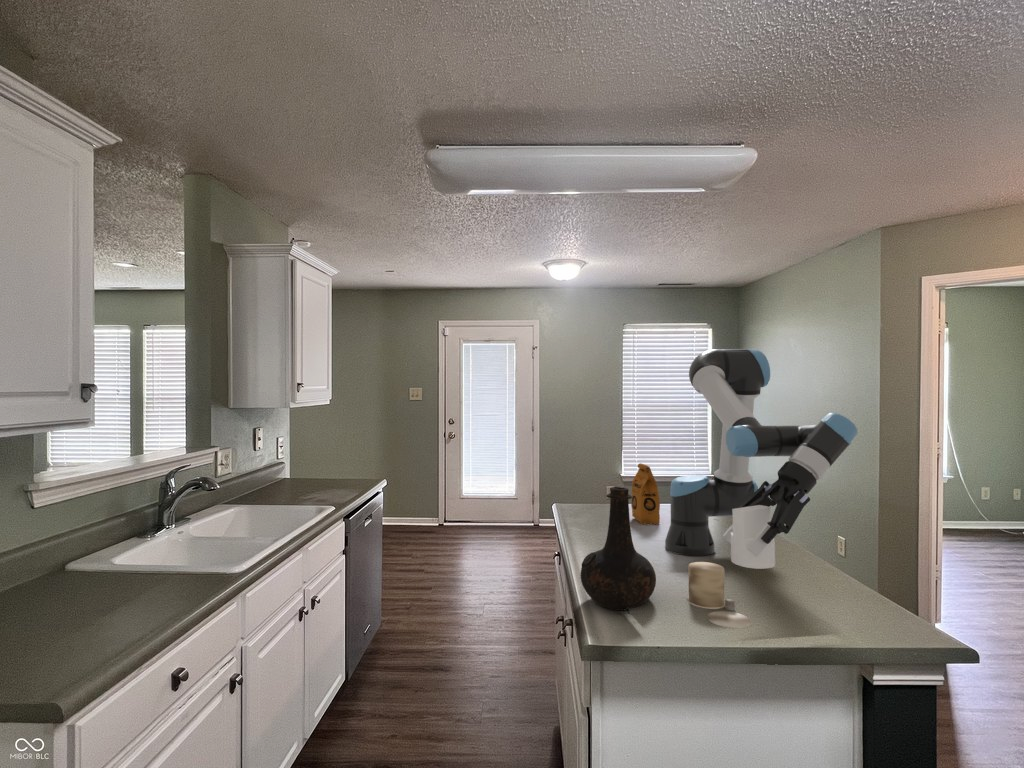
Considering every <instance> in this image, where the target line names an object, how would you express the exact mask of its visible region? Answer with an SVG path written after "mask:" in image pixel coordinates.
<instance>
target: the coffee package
mask: <svg viewBox="0 0 1024 768" xmlns="http://www.w3.org/2000/svg"><path fill="white" fill-rule="evenodd" d="M637 468H638V471H637V472H636V474H635V475H634V478H633V480H632V481H631V496H632V498H631V502H630V505H631V510H632V511H631V514H632V517H633V518H634V519H635V520H637V521H638V522H639V523H640V524H641V525H648V524H649V525H660V524H659V523H660V521H661V520H660V519H661V517H660V507H661V503H660V494H659V489H658V485H657V481H656V479H655V477H654V474H653V471H652V469H651V467H650V466H649V465H647V464H644V463H642V462H641V463H638V464H637Z"/></svg>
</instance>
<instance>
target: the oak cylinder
mask: <svg viewBox="0 0 1024 768" xmlns="http://www.w3.org/2000/svg"><path fill="white" fill-rule="evenodd" d="M688 596H689V601H690V602H691V603H693V604H695V605H698V606H701V607H708V608H717V607H721V606H723V605H724V604H725V600H726V597H725V567H724V566H722V565H720V564H717V563H714V562H708V561H707V562H706V561H695V562H690V563H689V564H688ZM701 607H700V608H701Z"/></svg>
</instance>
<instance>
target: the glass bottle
mask: <svg viewBox="0 0 1024 768" xmlns="http://www.w3.org/2000/svg"><path fill="white" fill-rule="evenodd" d="M609 490H610V492H609V493H607V494H606V498H608V499H610V500H609V501H610V502H609V516H608V517H609V519H608V527H607V535H606V538H605V543H604V546H603V548H602V549H600V550H597V551H594V552H590V553H588V554H587V555H586V556H584V558H583V560H582V562H581V569H580V581H581V586H582V587H583V589H584V591H585V592H586V594H587V595H588V597H590V598H591V599H592V600H593V601H594V602H595V603H597V605H599V606H602V607H604V608H607V609H610V610H614V611H628V610H629V609H632V608H636V607H637V608H638V607H639V606H642V605H643V604H645V603H646V602H647V601H648V600H649V599H650V597H651V596H652V595H653V593H654V592H655V588H656V585H657V584H656V583H657V575H656V572H655V568H654V567H653V565H652V563H651V562H650V561H649V560H648V559H647V557H645V556H643V555H642V554H641V553H639V552H638V551H636V549H635V547H634V543H633V537H632V529H631V519H630V506H629V500H632V494H629V491H630V490H629V488H627V487H619V486H612V487H610V488H609Z"/></svg>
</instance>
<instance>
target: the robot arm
mask: <svg viewBox="0 0 1024 768" xmlns="http://www.w3.org/2000/svg"><path fill="white" fill-rule="evenodd" d="M688 371H689V372H688V378H689V382H690V384H691V386H692V387H693V389H694V390H695V391H696V392H697V393H699V394H702V396H703V397H704V398H705V400H706V402H707V403H708V405H709V406H710V407H711V409H712V411H713V412H714V413H715V415H716V416H717V417H718V418H717V419H719V420H720V422H721V424H722V430H721V442H720V454H719V455H720V456H719V467H718V469H716V470H715V471H714V472H713V478H712V479H709V477H708V476H707V475H703V474H688V475H682V476H678V477H675V478H674V479H672V481H671V483H670V492H669V496H670V526H669V529H668V530H667V531H668V532H667V534H666V537H665V542H664V543H665V544H664V547H665V549H666V550H667V551H669V552H671V553H674V554H678V555H684V556H693V557H694V556H695V557H700V556H709V555H712V554H714V553H715V547H716V546H715V542H714V539H713V536H712V533H711V530H710V527H709V517H733V514H732V509H735V508H742V507H749V506H756V505H763V506H768V507H775V506H776V507H775V509H774V512H773V514H772V516H771V522H767V524H768V525H769V526H770V527H769V526H768V525H765V526H764V527H763V528H762V530H761V531H760V532H759V533H758V534H757V535H756V537H755V538H754V539H753V540H752V541H751V543H750V544H749V545H748V546H747V548H748V549H749V550H750V551H751V552H752V553H753V554H754V555H755V556H756V557H757V556H758V555H759V554H760V553H761V551H762V550H763V549H764V548H765V547H766V545H767V544H769V543H770V542H771V540H772V539H773V538H774V537H776V536H777V535H780V534H781V533H783V534H784V535H787V534H789V533H790V531H791V529H792V528H793V526H794V525H795V523H796V521H797V520H798V517H799V516H800V514H801V512H802V511H803V509H804V507H806V505H807V504H808V503H809V502H810V501H811V498H810V497H809V496H808V495H807V494H809V493H810V492H811V490H813V488H814V487H815V486H816V484H817V481H819V480H820V479H821V478H822V477H823V476H824V474H826V472H827V471H828V470H829V469H830V467H831V466H833V464H834V463H835V462H836V461H837V460H838V458H839V457H840V456H841V455H842V454H843V453H844V452H845V451H846V449H847V448H849V446H851V444H852V442H853V440H854V439H855V437H856V436H857V434H858V428H857V426H856V424H855V423H854V422H852V421H851V420H850V419H849V418H848V417H847V416H844V415H842V414H839V413H837V412H829V413H828V414H827V413H826V415H825V416H824V417H823V418H821V419H820V421H819V422H818V423H816V424H815V423H814V424H806V425H805V424H804V425H803V424H802V425H763V424H761V423H760V422H759V420H757V418H756V417H755V416H754V406H755V399H756V398H757V397H758V396H760V395H761V389H762V388H765V387H767V386H768V385H769V382H770V380H771V367H770V363H769V360H768V358H767V356H766V355H765V353H763V352H762V351H761V350H759V349H752V348H750V349H749V348H738V349H737V348H730V349H729V348H728V349H727V348H724V349H722V348H721V349H720V348H719V349H718V348H717V349H716V348H715V349H713V348H712V349H709V350H705V351H703V352H701V353H699V354H698V355H697V356H696V357H695V358H694V359H693V361H692V362H691V364H690V366H689V370H688ZM752 457H755V458H756V457H789V458H788V461H786V462H784V464H783V465H782V466H781V467H780V468H779V470H778V471H777V478H778V479H777V480H776V481H775V482H773V483H769V482H768V481H767V480H765V481H763V482H762V483H761V485H760V486H759V487H758V485H757V482H756V481H755V480H754V479H753V476H752V475H751V473H749V465H750V464H749V462H750V458H752ZM731 532H733V522H732V523H731V524H730V526H729V527H728V528H727V530H726V531H725V532H724V533H723V534H722V537H723V538H724V539H725V540H726V542H728V543H729V544H730V545H731Z"/></svg>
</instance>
